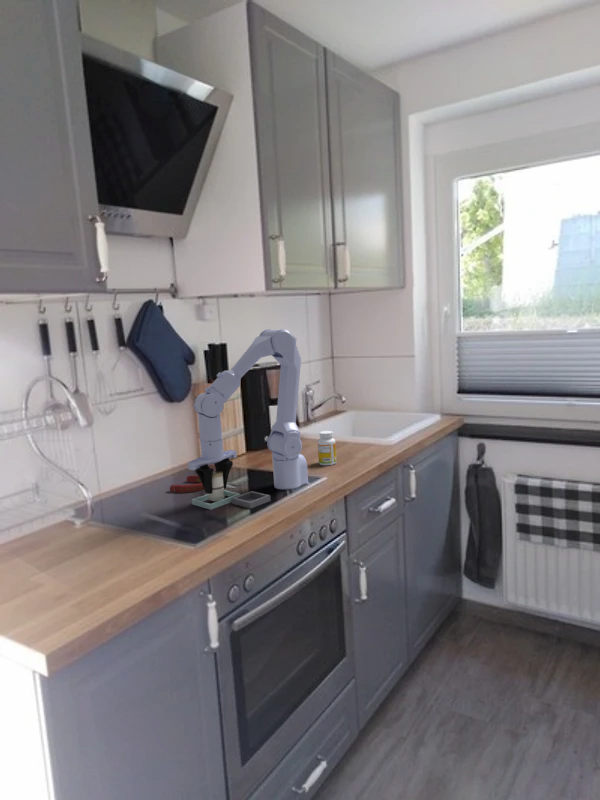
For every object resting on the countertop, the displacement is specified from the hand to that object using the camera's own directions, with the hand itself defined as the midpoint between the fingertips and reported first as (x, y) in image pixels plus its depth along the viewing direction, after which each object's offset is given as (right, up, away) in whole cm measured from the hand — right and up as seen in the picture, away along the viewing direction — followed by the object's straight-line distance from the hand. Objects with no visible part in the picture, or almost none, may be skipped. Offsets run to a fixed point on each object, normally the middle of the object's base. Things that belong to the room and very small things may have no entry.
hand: (215, 490), depth 151 cm
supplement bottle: (+31, +3, +34) cm, 46 cm away
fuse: (0, -2, 0) cm, 2 cm away
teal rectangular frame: (0, -4, +1) cm, 4 cm away
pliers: (-6, -3, +15) cm, 16 cm away
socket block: (+9, -3, -2) cm, 10 cm away
